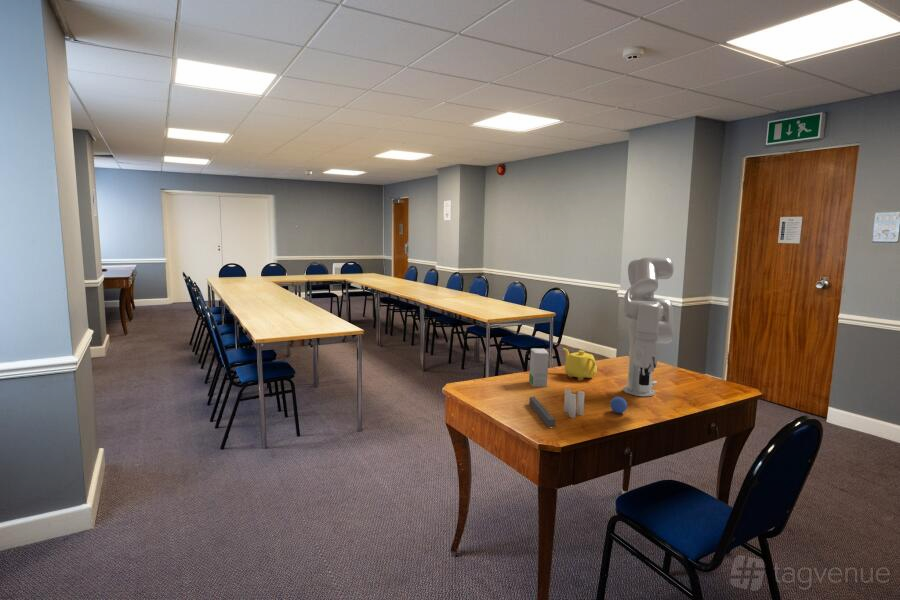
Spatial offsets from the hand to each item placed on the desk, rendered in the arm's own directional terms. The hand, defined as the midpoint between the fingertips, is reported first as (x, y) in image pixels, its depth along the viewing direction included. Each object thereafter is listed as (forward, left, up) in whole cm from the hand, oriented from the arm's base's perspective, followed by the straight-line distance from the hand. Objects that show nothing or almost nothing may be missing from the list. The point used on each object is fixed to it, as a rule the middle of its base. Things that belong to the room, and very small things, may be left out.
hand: (643, 384), depth 184 cm
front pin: (+22, -11, -11) cm, 27 cm away
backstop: (+35, -17, -11) cm, 41 cm away
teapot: (-15, -46, -11) cm, 50 cm away
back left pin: (+26, -10, -11) cm, 30 cm away
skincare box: (+10, -47, -11) cm, 49 cm away
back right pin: (+24, -15, -11) cm, 30 cm away
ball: (+8, -4, -8) cm, 12 cm away
